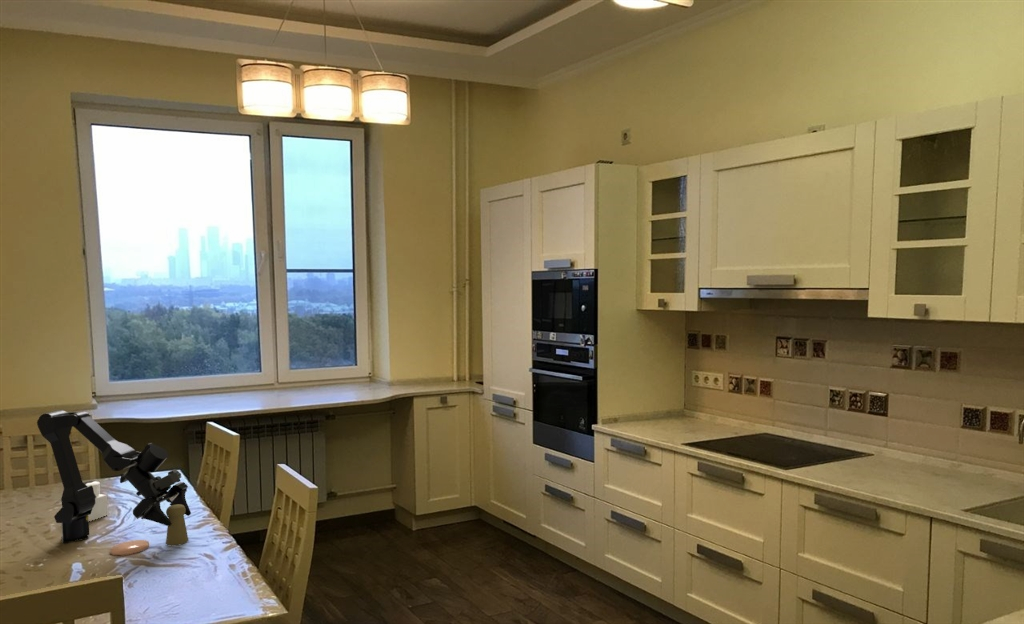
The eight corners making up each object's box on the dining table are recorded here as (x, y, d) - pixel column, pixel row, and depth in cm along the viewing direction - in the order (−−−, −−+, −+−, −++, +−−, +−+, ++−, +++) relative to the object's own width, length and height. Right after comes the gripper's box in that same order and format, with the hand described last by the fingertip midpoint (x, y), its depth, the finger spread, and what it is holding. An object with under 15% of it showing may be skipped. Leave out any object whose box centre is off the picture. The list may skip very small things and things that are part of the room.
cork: (179, 546, 203) (177, 509, 203) (161, 545, 204) (159, 508, 204) (192, 538, 209) (191, 502, 209) (175, 537, 210) (173, 501, 210)
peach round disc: (112, 558, 195) (112, 555, 195) (108, 548, 203) (107, 545, 203) (152, 549, 201) (152, 546, 201) (146, 540, 209) (146, 537, 209)
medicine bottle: (72, 520, 229) (71, 484, 229) (93, 513, 236) (91, 478, 236) (88, 522, 227) (86, 486, 226) (108, 515, 233) (106, 480, 233)
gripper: (140, 472, 197) (177, 511, 196) (180, 455, 216) (215, 491, 214) (116, 499, 199) (153, 538, 197) (158, 480, 217) (192, 516, 216)
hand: (180, 519), depth 206 cm, fingers open, 9 cm apart
